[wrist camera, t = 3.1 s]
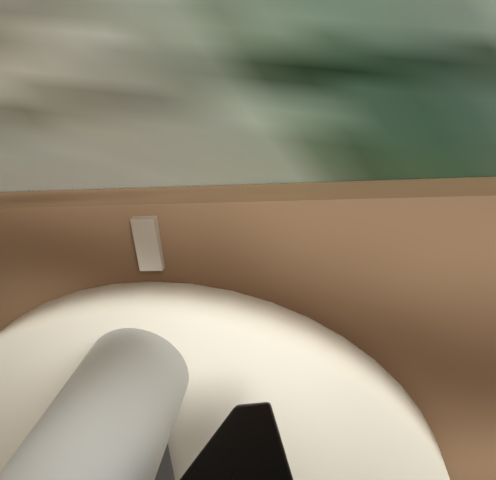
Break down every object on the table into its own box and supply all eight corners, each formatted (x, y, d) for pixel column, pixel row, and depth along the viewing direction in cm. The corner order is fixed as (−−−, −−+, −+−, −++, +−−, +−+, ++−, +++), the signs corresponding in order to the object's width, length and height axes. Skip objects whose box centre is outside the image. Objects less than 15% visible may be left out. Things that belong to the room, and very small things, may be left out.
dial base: (442, 630, 18) (455, 684, 16) (35, 586, 20) (13, 629, 19) (537, 175, 10) (580, 196, 9) (-138, 196, 13) (-199, 215, 11)
